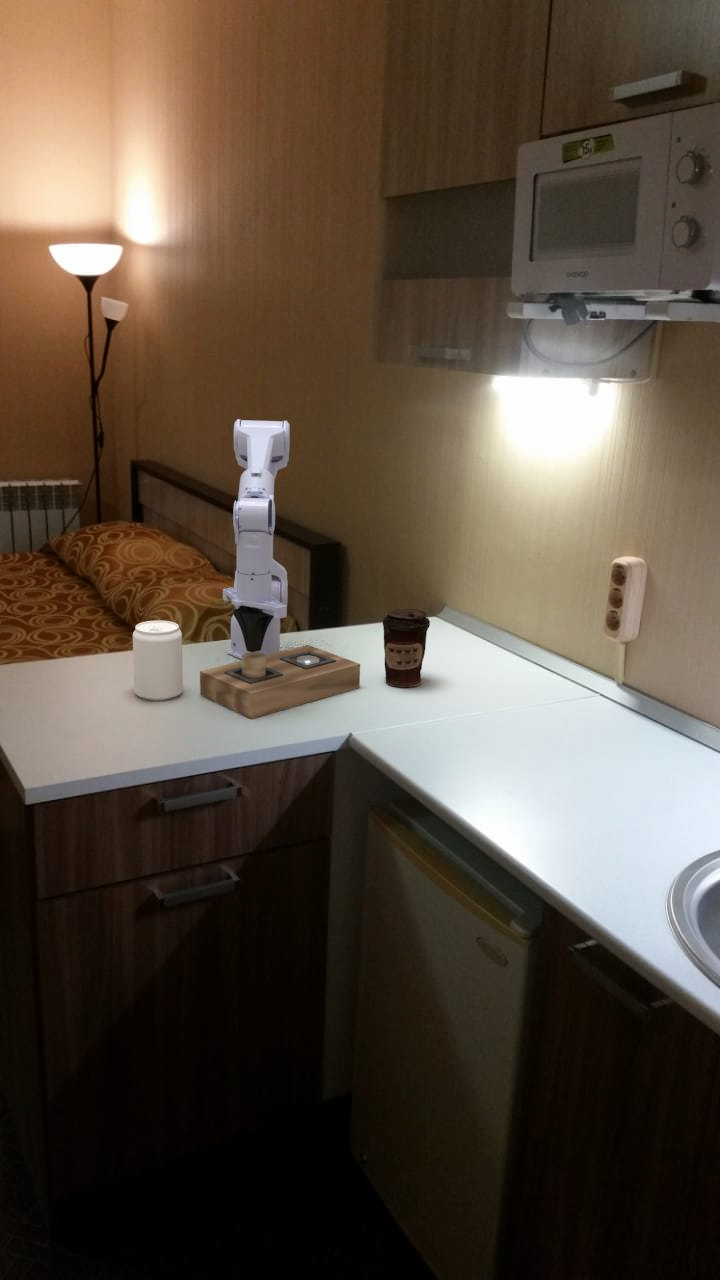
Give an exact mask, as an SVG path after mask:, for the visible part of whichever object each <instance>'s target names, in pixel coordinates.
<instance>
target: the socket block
mask: <svg viewBox="0 0 720 1280" xmlns="http://www.w3.org/2000/svg"><path fill="white" fill-rule="evenodd" d="M300 656H315V657H318V658H319V662H318V663H314V664H310V665H304V664H301V663H299V662H297V658H298V657H300ZM360 675H361V664H360V663H358V662H356V661H353V660H350V659H349V658H345V657H341V656H339V655H337V654H335V653H332V652H330V651H329V652H328V651H326V650H322V649H321V648H317V647H314V646H312V645H310V644H306V645H302V646H297V647H292V648H289V649H284V650H280V652H276V653H272V654H268V655H266V676H264V677H260V678H256V679H252V680H251V679H248V678H246V677H243V676H242V660H240V661H235V662H231V663H227V664H223V665H219V666H215V667H211V668H206V669H203V670H202V669H201V670H200V671H199V686H200V687H199V692H200V693H199V696H200V695H201V696H200V697H202V696H203V698H204V699H207V700H209V701H212V702H213V703H216V704H218V705H220V706H222V707H224V708H226V709H228V710H230V711H233V712H235V713H237V714H239V715H242V716H243V717H246V718H248V719H251V720H253V719H257V718H261V717H263V716H266V715H269V714H273V713H277V712H280V711H283V710H288V709H291V708H295V707H297V706H301V705H304V704H307V703H312V702H315V701H319V700H322V699H325V698H329V697H332V696H336V695H338V694H342V693H346V692H350V691H352V690H356V689H359V688H360V683H361V681H360V680H361V679H360V678H361V677H360Z"/></svg>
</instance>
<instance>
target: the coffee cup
mask: <svg viewBox="0 0 720 1280" xmlns="http://www.w3.org/2000/svg"><path fill="white" fill-rule="evenodd" d="M430 624H431V621H430V619H429V618H428V617H427V612H426V611H423V610H420V609H417V608H415V609H414V608H403V609H402V608H401V609H400V608H397V609H394V610H389V611H387V612H386V615H385V617H384V618H383V619H382V627H383V651H384V671H385V683H386V684H388V685H390V686H393V687H398V688H399V687H400V688H409V687H411V688H412V687H416V686H419V685H421V684H422V677H421V676H422V675H421V672H422V670H423V669H422V668H423V661H424V657H425V654H426V644H427V635H428V633H427V632H428V629H429V628H430V626H431V625H430Z"/></svg>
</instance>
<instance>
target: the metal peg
mask: <svg viewBox="0 0 720 1280" xmlns="http://www.w3.org/2000/svg"><path fill="white" fill-rule="evenodd" d="M297 662H299V663H301V664H304V665H310V664H314V663H318V662H319V658H318V657H315V656H300V657H298V658H297Z"/></svg>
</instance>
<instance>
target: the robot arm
mask: <svg viewBox="0 0 720 1280" xmlns="http://www.w3.org/2000/svg"><path fill="white" fill-rule="evenodd" d="M290 426H291V425H290V423H289V422H288V420H282V421H280V420H279V421H278V420H252V419H251V420H247V419H246V420H243V419H241V418H240V419H239V418H238V419H236V420H235V422H234V425H233V451H234V453H235V459H236V461H237V465H238V466H240V467H242V468H244V469H245V470H244V471H243V472H242V474H241V475H240V478H239V487H238V494H237V495H238V497H237V500H234V503H233V510H232V511H233V514H232V516H233V517H232V521H233V525H232V526H233V531H234V540H235V541H234V542H235V543H234V544H235V545H236V570H235V572H234V583H233V587H228V588H223V589H222V600H223V601H225V602H231V604H232V605H233V607H234V609H233V610H232V616H231V619H230V650H227V651H226V654H228V655H229V656H232V657H235V658H237V659H240V660H242V655H243V654H245V653H249V652H259V653H263V654H265V655H268V654H272V653H276V652H280V651H281V619H284V618H287V617H288V615H287V614H288V609H287V607H288V594H289V593H288V590H289V588H288V587H289V585H288V584H289V583H288V572H287V570H286V567H284V566H283V565H282V564H280V563H279V562H278V561H276V560H275V559H274V531H275V526H276V504H275V480H276V477H277V473H278V471H279V470H281V469H284V468H286V467H287V466H288V462H289V460H290V457H289V456H290V454H289V453H290V445H291V444H290V442H291V441H290V438H291V435H290V434H291V432H290V431H291V430H290ZM274 576H275V577H274Z"/></svg>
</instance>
